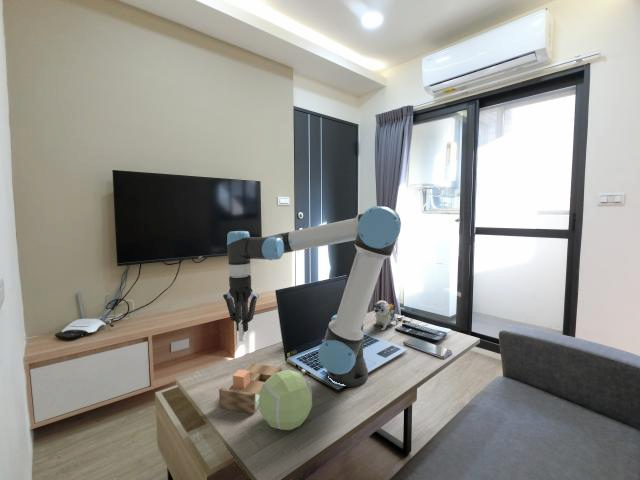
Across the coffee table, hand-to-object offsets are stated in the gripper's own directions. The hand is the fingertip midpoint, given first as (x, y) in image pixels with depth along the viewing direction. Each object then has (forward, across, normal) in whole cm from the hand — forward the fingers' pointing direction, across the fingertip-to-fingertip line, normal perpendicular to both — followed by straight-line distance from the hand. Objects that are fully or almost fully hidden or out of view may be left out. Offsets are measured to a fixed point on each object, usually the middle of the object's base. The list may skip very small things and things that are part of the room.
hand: (242, 339), depth 110 cm
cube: (+13, -2, +6) cm, 15 cm away
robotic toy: (+16, -48, -63) cm, 81 cm away
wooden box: (+16, -6, +4) cm, 17 cm away
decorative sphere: (+16, -22, +17) cm, 32 cm away
